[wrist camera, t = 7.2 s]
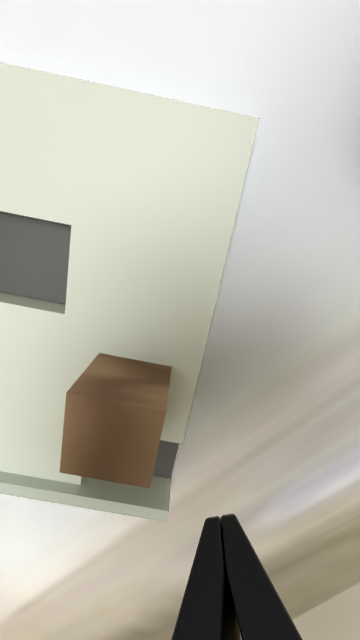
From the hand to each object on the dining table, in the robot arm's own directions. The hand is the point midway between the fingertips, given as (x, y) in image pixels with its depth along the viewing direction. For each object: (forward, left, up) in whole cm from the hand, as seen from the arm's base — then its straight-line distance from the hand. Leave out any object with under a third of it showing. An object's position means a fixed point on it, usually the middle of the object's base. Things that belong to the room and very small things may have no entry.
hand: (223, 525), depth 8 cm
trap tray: (+8, -1, -11) cm, 13 cm away
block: (+4, +2, -9) cm, 10 cm away
